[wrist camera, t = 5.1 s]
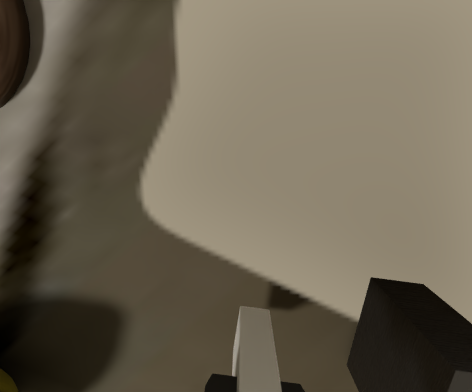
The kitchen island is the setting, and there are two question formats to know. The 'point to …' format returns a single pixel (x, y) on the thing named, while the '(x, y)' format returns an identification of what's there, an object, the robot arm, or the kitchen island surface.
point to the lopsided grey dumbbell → (410, 342)
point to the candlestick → (12, 47)
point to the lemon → (6, 383)
